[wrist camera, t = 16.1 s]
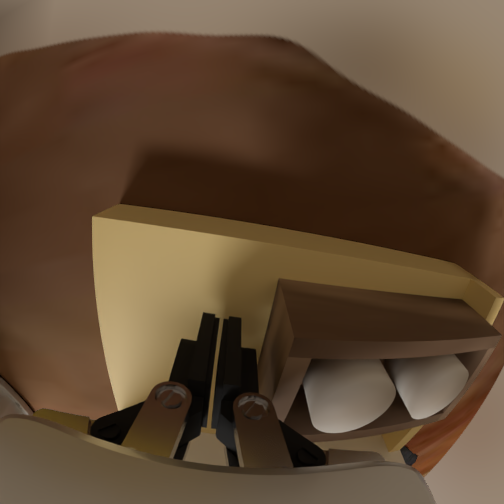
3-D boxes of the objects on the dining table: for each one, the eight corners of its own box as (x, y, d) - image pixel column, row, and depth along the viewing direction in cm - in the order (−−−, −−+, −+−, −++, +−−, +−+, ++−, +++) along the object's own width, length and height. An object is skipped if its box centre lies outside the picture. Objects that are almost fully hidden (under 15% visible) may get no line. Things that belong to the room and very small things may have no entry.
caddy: (419, 378, 15) (446, 422, 11) (253, 380, 14) (256, 449, 10) (461, 299, 13) (505, 339, 8) (278, 278, 12) (296, 345, 7)
